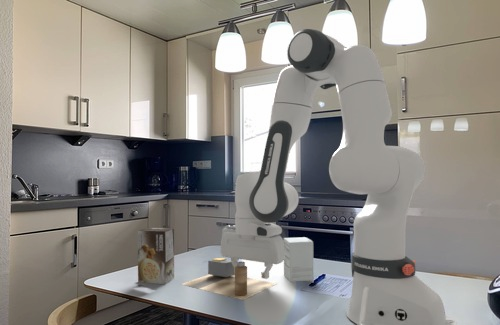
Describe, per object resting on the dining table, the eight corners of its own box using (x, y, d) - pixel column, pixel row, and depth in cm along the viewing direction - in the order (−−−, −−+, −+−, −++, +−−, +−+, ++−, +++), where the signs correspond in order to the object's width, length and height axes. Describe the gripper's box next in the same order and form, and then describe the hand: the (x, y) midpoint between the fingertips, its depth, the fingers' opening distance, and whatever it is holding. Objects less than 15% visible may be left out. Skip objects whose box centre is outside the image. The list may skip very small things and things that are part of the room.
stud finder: (236, 274, 113) (236, 259, 113) (226, 277, 109) (226, 261, 109) (218, 271, 117) (218, 257, 117) (208, 274, 113) (208, 259, 113)
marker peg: (249, 293, 97) (249, 262, 97) (242, 297, 94) (242, 264, 95) (239, 291, 99) (239, 260, 99) (232, 294, 96) (232, 262, 96)
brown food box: (175, 281, 112) (175, 227, 112) (166, 288, 105) (166, 231, 106) (147, 279, 114) (147, 226, 114) (136, 286, 107) (136, 230, 108)
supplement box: (306, 277, 116) (306, 236, 116) (314, 284, 109) (313, 241, 109) (283, 278, 115) (283, 237, 115) (289, 286, 107) (289, 241, 108)
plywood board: (276, 287, 105) (276, 283, 106) (243, 304, 92) (243, 299, 92) (217, 275, 118) (217, 271, 118) (180, 288, 105) (180, 284, 105)
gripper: (215, 226, 110) (216, 273, 110) (275, 231, 99) (276, 284, 98) (228, 223, 115) (229, 268, 115) (286, 228, 104) (287, 278, 103)
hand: (251, 275), depth 106 cm, fingers open, 8 cm apart
